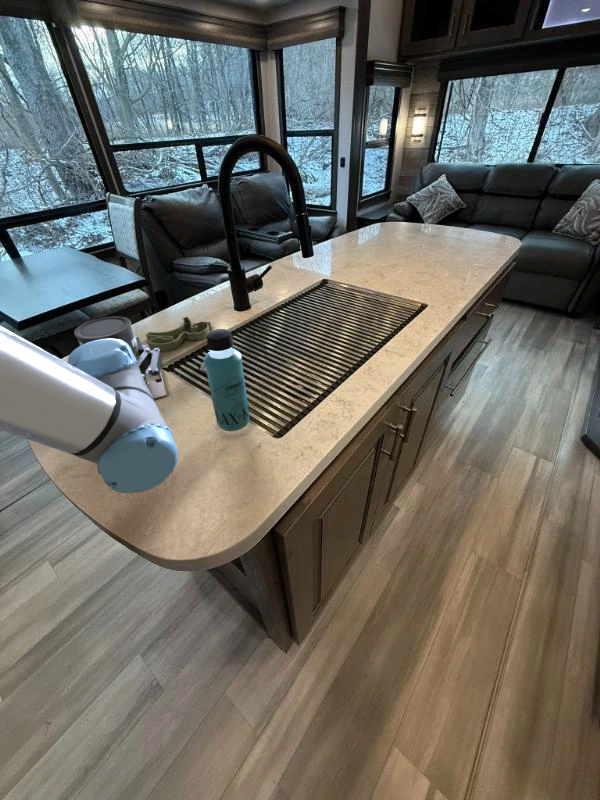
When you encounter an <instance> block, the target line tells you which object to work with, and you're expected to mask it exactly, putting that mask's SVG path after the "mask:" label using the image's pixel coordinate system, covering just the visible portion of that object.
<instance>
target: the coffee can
mask: <svg viewBox="0 0 600 800" xmlns="http://www.w3.org/2000/svg"><path fill="white" fill-rule="evenodd" d="M73 335H74V337H75V339H76V340H77V341H78V344H79V346H81V345H83V344H86V343H88V342H92V341H96V340H100V339H118V340H122V341H124V342H126V343H127V344H128V345H129V346H130V348H131V350H132V352H133V355H134V357H135V358H136V359H137V360H138V358H139V357H140V356H141V352H140V349H139V346H138V344H137V341H136V336H135V333H134V330H133V327H132V322H131V320H130V319H129V318H128V317H124V316H114V315H113V316H104V317H103V316H102V317H98V318H94V319H91V320H89V321H87V322H84V323H82V324H80V325H79V326H78V327H76V328H75V329H74V332H73ZM144 375H145V376H146V375H148V371H147V370H146V372H145V373H144ZM148 384H149V382H148ZM148 384H147V385H148Z"/></svg>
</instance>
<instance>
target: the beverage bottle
mask: <svg viewBox="0 0 600 800" xmlns="http://www.w3.org/2000/svg"><path fill="white" fill-rule="evenodd" d="M209 331H210V330H209ZM234 343H235V342H234V338H233V335H232V333H231V331H230V330H228V329H227V328H226V329H225V328H217V329H213V330H211V331H210V332H209V333H208V334H207V336H206V344H207V345H206V346H207V348H208V349H209V352H207V353H206V355H205V356H204V358H203V362H204V364H205V367H206V371H207V373H206V376H207V381H208V386H209V393H210V396H211V397H210V398H211V401H212V408H213V414H214V416H215V421H216V425H217V426H218V427H219V428H220V429H221V430H223V431H226V432H235V431H240V430H242V429H243V428H245V427H246V426H247V425H248V424H249V421H250V419H251V417H250V412H251V411H250V405H249V398H248V396H247V395H248V394H247V393H248V392H247V386H246V380H245V379H246V376H245V374H244V367H243V357H242V353H241V352H240V351H239V350H237V348H236V349H235V348H234V347H233V346H234Z"/></svg>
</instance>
